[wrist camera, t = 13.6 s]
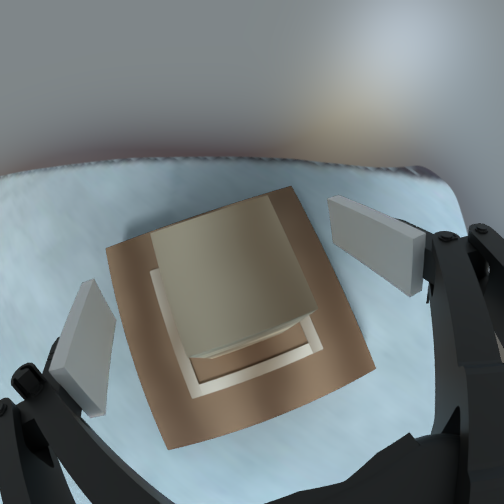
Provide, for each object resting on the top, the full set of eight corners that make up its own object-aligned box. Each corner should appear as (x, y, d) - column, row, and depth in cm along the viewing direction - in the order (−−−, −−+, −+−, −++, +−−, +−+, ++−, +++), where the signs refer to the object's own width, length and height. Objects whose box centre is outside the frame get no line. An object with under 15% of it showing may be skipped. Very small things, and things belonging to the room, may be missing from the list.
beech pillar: (212, 358, 19) (187, 357, 10) (189, 291, 21) (150, 233, 11) (281, 333, 20) (318, 308, 10) (255, 268, 21) (267, 195, 12)
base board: (176, 440, 19) (167, 450, 16) (118, 260, 24) (104, 247, 21) (360, 368, 22) (377, 368, 19) (286, 203, 27) (291, 184, 24)
